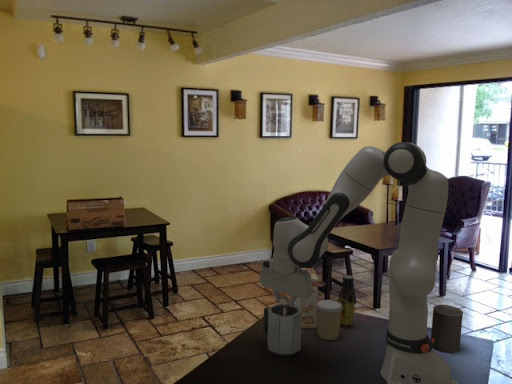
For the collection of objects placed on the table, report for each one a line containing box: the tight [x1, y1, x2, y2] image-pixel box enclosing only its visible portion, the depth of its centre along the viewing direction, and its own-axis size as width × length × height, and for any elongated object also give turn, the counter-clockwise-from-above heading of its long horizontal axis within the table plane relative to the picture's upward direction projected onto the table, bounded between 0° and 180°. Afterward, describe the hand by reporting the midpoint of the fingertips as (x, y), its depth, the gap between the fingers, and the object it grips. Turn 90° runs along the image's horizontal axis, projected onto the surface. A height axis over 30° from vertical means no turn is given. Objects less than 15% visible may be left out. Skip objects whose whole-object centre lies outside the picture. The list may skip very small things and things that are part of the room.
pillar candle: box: [430, 304, 464, 354], centre depth 157 cm, size 10×10×15 cm
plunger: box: [278, 295, 291, 315], centre depth 153 cm, size 8×8×14 cm
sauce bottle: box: [337, 274, 356, 329], centre depth 174 cm, size 7×6×20 cm
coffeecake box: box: [294, 267, 319, 329], centre depth 178 cm, size 15×7×20 cm, turn 1°
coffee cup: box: [316, 299, 342, 341], centre depth 165 cm, size 9×9×12 cm
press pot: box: [262, 303, 302, 358], centre depth 155 cm, size 14×11×14 cm
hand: (284, 304), depth 153 cm, fingers closed on plunger, 4 cm apart
